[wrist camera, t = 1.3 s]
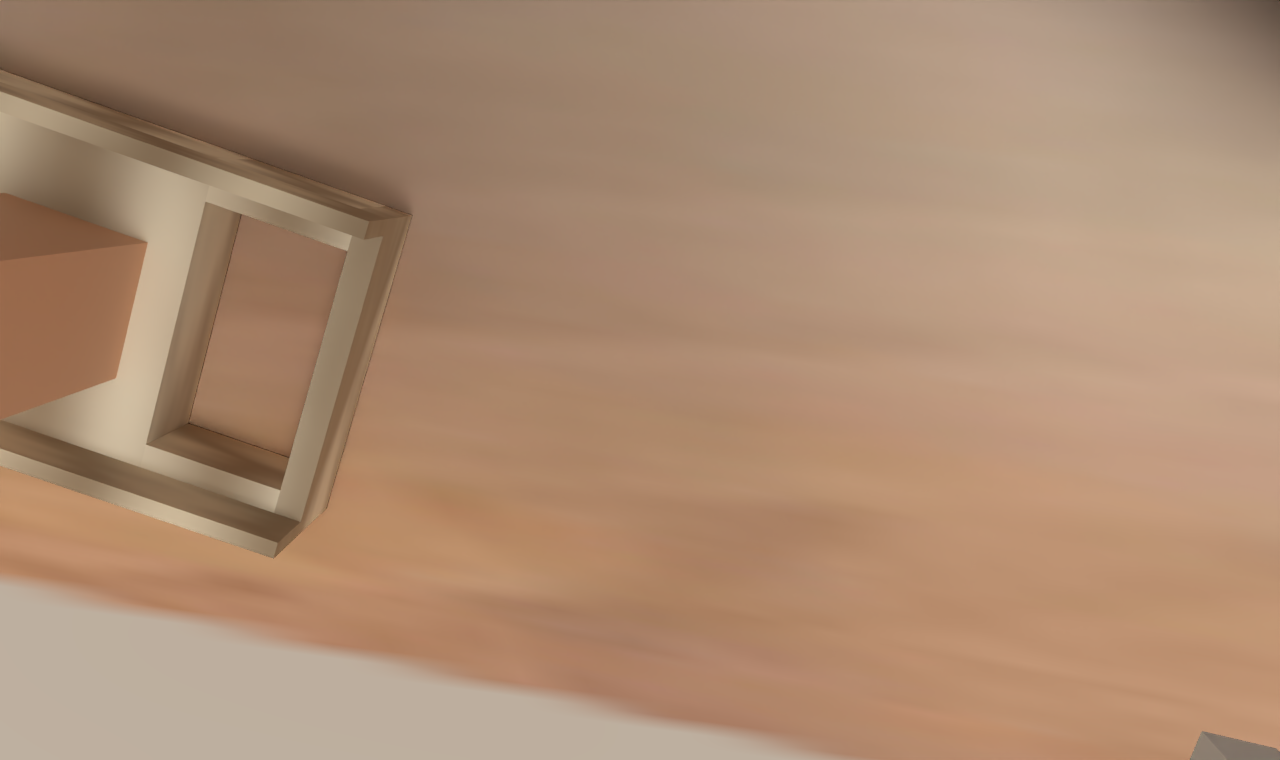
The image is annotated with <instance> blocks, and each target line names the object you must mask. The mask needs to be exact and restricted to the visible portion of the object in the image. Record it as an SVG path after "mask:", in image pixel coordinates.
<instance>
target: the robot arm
mask: <svg viewBox="0 0 1280 760" xmlns="http://www.w3.org/2000/svg"><path fill="white" fill-rule="evenodd" d="M1190 760H1280V752H1279V751H1278V750H1277V749H1276V748H1272V747H1268V746H1264V745H1259V744H1255V743H1251V742H1246V741H1242V740H1238V739H1233V738H1229V737H1225V736H1221V735H1216V734H1212V733H1208V732H1204V731H1202V732H1201V734H1200V737H1199V739H1198V741H1197V744H1196V746H1195V749H1194V751H1193V753H1192V756H1191V758H1190Z"/></svg>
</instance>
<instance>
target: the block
mask: <svg viewBox="0 0 1280 760" xmlns="http://www.w3.org/2000/svg"><path fill="white" fill-rule="evenodd" d="M147 244H148V242H145V241H142V240H139V239H136V238H133V237H130V236H128V235H125V234H122V233H119V232H116V231H113V230H110V229H107V228H105V227H102V226H99V225H96V224H93V223H90V222H87V221H85V220H82V219H79V218H76V217H73V216H70V215H67V214H65V213H62V212H59V211H56V210H53V209H50V208H47V207H45V206H42V205H39V204H36V203H33V202H30V201H27V200H24V199H22V198H19V197H16V196H13V195H10V194H7V193H0V420H1V419H4V418H7V417H9V416H12V415H15V414H18V413H21V412H23V411H26V410H29V409H32V408H35V407H37V406H40V405H43V404H46V403H48V402H51V401H54V400H57V399H60V398H62V397H65V396H68V395H71V394H74V393H76V392H79V391H82V390H85V389H87V388H90V387H93V386H96V385H99V384H101V383H104V382H107V381H110V380H113V379H115V378H116V377H117V372H118V368H119V364H120V359H121V355H122V351H123V347H124V342H125V338H126V334H127V330H128V325H129V321H130V317H131V312H132V308H133V304H134V300H135V295H136V291H137V287H138V283H139V278H140V274H141V270H142V265H143V261H144V257H145V253H146V248H147Z"/></svg>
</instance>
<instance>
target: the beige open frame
mask: <svg viewBox="0 0 1280 760" xmlns="http://www.w3.org/2000/svg"><path fill="white" fill-rule="evenodd" d="M0 193H7V194H10V195H13V196H16V197H19V198H22V199H24V200H27V201H30V202H33V203H36V204H39V205H42V206H45V207H47V208H50V209H53V210H56V211H59V212H62V213H65V214H67V215H70V216H73V217H76V218H79V219H82V220H85V221H87V222H90V223H93V224H96V225H99V226H102V227H105V228H107V229H110V230H113V231H116V232H119V233H122V234H125V235H128V236H130V237H133V238H136V239H139V240H142V241H145V242H148V244H147V248H146V253H145V257H144V261H143V265H142V270H141V274H140V278H139V283H138V287H137V291H136V295H135V300H134V304H133V308H132V312H131V317H130V321H129V325H128V330H127V334H126V338H125V342H124V347H123V351H122V355H121V359H120V364H119V368H118V372H117V377H116V378H115V379H113V380H110V381H107V382H104V383H101V384H99V385H96V386H93V387H90V388H87V389H85V390H82V391H79V392H76V393H74V394H71V395H68V396H65V397H62V398H60V399H57V400H54V401H51V402H48V403H46V404H43V405H40V406H37V407H35V408H32V409H29V410H26V411H23V412H21V413H18V414H15V415H12V416H9V417H7V418H4V419H1V420H0V466H3V467H5V468H8V469H11V470H14V471H17V472H20V473H23V474H26V475H29V476H32V477H35V478H38V479H41V480H44V481H47V482H50V483H53V484H56V485H58V486H61V487H64V488H67V489H70V490H73V491H76V492H79V493H82V494H85V495H88V496H91V497H94V498H97V499H100V500H103V501H106V502H109V503H111V504H114V505H117V506H120V507H123V508H126V509H129V510H132V511H135V512H138V513H141V514H144V515H147V516H150V517H153V518H156V519H159V520H162V521H164V522H167V523H170V524H173V525H176V526H179V527H182V528H185V529H188V530H191V531H194V532H197V533H200V534H203V535H206V536H209V537H212V538H215V539H217V540H220V541H223V542H226V543H229V544H232V545H235V546H238V547H241V548H244V549H247V550H250V551H253V552H256V553H259V554H262V555H265V556H268V557H270V558H275V557H276V556H277V555H278V554H279V553H280V552H281V551H282V550H283V549H284V548H285V547H286V546H287V545H288V544H289V543H290V542H291V541H293V540H294V539H295V538H296V537H297V536H298V535H299V534H300V533H301V532H302V531H303V530H304V529H305V528H306V527H307V526H308V525H309V524H311V523H312V522H313V521H314V520H315V519H316V518H317V517H318V516H319V515H320V514H321V513H322V512H323V511H324V510H325V509H326V508H327V504H328V501H329V498H330V494H331V491H332V487H333V484H334V481H335V477H336V474H337V470H338V467H339V464H340V460H341V457H342V453H343V450H344V446H345V443H346V440H347V436H348V433H349V429H350V426H351V423H352V419H353V416H354V412H355V409H356V406H357V402H358V399H359V395H360V392H361V388H362V385H363V382H364V378H365V375H366V371H367V368H368V365H369V361H370V358H371V354H372V351H373V348H374V344H375V341H376V337H377V334H378V330H379V327H380V324H381V320H382V317H383V313H384V310H385V307H386V303H387V300H388V296H389V293H390V290H391V286H392V283H393V279H394V276H395V273H396V269H397V266H398V262H399V259H400V255H401V252H402V249H403V245H404V242H405V238H406V235H407V232H408V228H409V225H410V221H411V218H412V215H410V214H407V213H404V212H401V211H399V210H396V209H393V208H390V207H387V206H384V205H382V204H379V203H376V202H373V201H370V200H368V199H365V198H362V197H359V196H356V195H353V194H351V193H348V192H345V191H342V190H339V189H336V188H334V187H331V186H328V185H325V184H322V183H319V182H317V181H314V180H311V179H308V178H305V177H302V176H300V175H297V174H294V173H291V172H288V171H286V170H283V169H280V168H277V167H274V166H271V165H269V164H266V163H263V162H260V161H257V160H254V159H252V158H249V157H246V156H243V155H240V154H237V153H235V152H232V151H229V150H226V149H223V148H221V147H218V146H215V145H212V144H209V143H206V142H204V141H201V140H198V139H195V138H192V137H189V136H187V135H184V134H181V133H178V132H175V131H172V130H170V129H167V128H164V127H161V126H158V125H156V124H153V123H150V122H147V121H144V120H141V119H139V118H136V117H133V116H130V115H127V114H124V113H122V112H119V111H116V110H113V109H110V108H107V107H105V106H102V105H99V104H96V103H93V102H90V101H88V100H85V99H82V98H79V97H76V96H74V95H71V94H68V93H65V92H62V91H59V90H57V89H54V88H51V87H48V86H45V85H42V84H40V83H37V82H34V81H31V80H28V79H25V78H23V77H20V76H17V75H14V74H11V73H9V72H6V71H3V70H0ZM241 214H243V215H245V216H248V217H251V218H254V219H257V220H260V221H262V222H265V223H268V224H271V225H274V226H277V227H280V228H282V229H285V230H288V231H291V232H294V233H297V234H299V235H302V236H305V237H308V238H311V239H314V240H316V241H319V242H322V243H325V244H328V245H331V246H334V247H336V248H339V249H342V250H345V251H347V255H346V258H345V262H344V266H343V269H342V273H341V276H340V280H339V283H338V287H337V290H336V294H335V298H334V301H333V305H332V308H331V312H330V315H329V319H328V323H327V326H326V330H325V333H324V337H323V340H322V344H321V347H320V351H319V355H318V358H317V362H316V365H315V369H314V372H313V376H312V380H311V383H310V387H309V390H308V394H307V397H306V401H305V404H304V408H303V412H302V415H301V419H300V422H299V426H298V429H297V433H296V437H295V440H294V444H293V447H292V451H291V454H290V458H288V457H285V456H282V455H279V454H276V453H273V452H270V451H268V450H265V449H262V448H259V447H256V446H253V445H250V444H247V443H244V442H241V441H238V440H236V439H233V438H230V437H227V436H224V435H221V434H218V433H215V432H212V431H209V430H206V429H204V428H201V427H198V426H195V425H192V424H189V423H188V422H189V418H190V414H191V410H192V406H193V402H194V398H195V394H196V390H197V386H198V383H199V379H200V375H201V371H202V367H203V363H204V359H205V355H206V351H207V347H208V343H209V339H210V335H211V331H212V327H213V323H214V320H215V316H216V312H217V308H218V304H219V300H220V296H221V292H222V288H223V284H224V280H225V276H226V272H227V268H228V264H229V260H230V257H231V253H232V249H233V245H234V241H235V237H236V233H237V229H238V225H239V221H240V217H241Z"/></svg>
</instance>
